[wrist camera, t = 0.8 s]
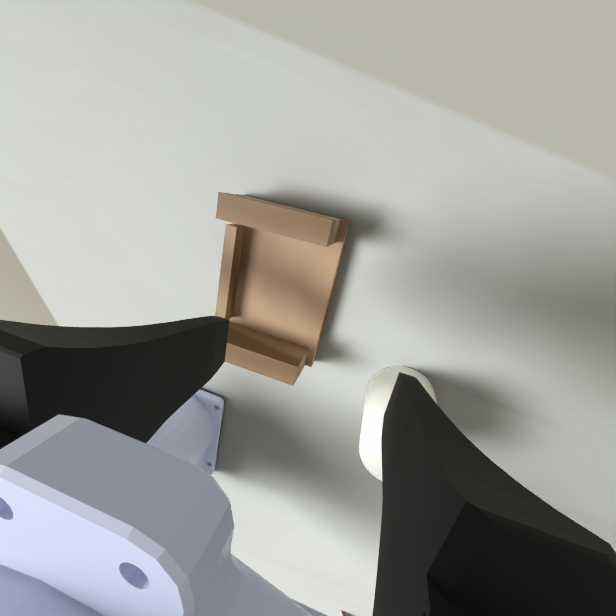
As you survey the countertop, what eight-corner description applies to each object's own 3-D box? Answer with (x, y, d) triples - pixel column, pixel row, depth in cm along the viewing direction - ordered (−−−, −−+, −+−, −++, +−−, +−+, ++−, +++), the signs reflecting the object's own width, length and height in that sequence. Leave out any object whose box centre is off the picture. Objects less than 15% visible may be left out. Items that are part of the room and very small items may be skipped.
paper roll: (421, 432, 23) (431, 503, 17) (358, 410, 24) (349, 470, 18) (445, 379, 21) (465, 438, 15) (377, 357, 22) (372, 405, 16)
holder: (314, 361, 23) (300, 388, 20) (224, 331, 25) (195, 351, 21) (350, 221, 20) (341, 222, 16) (242, 194, 21) (211, 190, 17)
